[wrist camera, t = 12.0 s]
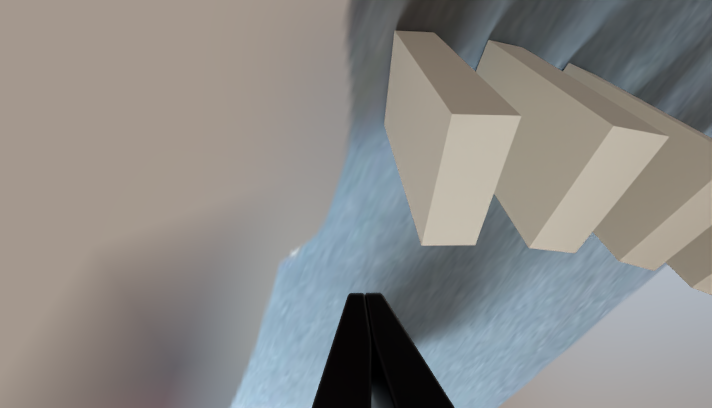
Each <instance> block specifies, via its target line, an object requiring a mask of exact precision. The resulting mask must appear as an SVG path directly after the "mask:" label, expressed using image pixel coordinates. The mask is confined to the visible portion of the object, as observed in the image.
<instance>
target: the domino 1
mask: <svg viewBox="0 0 712 408" xmlns="http://www.w3.org/2000/svg"><path fill="white" fill-rule="evenodd" d="M520 119H521V115H520V114H519V113H518V112H517V111H516V110H515V109H514V108H513V107H512V106H511V105H510V104H509V103H508V102H507V101H506V100H505V99H503V98H502V97H501V96H500V95H499V94H498V93H497V92H496V91H495V90H494V89H493V88H492V87H491V86H490V85H489V84H488V83H487V82H486V81H485V80H484V79H482V78H481V77H480V76H479V75H478V74H477V73H476V72H475V71H474V70H473V69H472V68H471V67H470V66H469V65H468V64H467V63H466V62H465V61H464V60H463V59H462V58H460V57H459V56H458V55H457V54H456V53H455V52H454V51H453V50H452V49H451V48H450V47H449V46H448V45H447V44H446V43H445V42H444V41H443V40H442V39H441V38H439V37H438V36H437V35H436V34H435V33H434V32H414V31H395V32H394V41H393V50H392V59H391V68H390V77H389V86H388V95H387V104H386V113H385V122H384V125H385V129H386V132H387V135H388V138H389V142H390V145H391V148H392V151H393V155H394V158H395V161H396V164H397V168H398V171H399V174H400V177H401V181H402V184H403V187H404V190H405V194H406V197H407V200H408V203H409V207H410V210H411V213H412V216H413V220H414V223H415V226H416V229H417V233H418V236H419V239H420V242H421V246H437V245H476V242H477V239H478V236H479V233H480V231H481V228H482V225H483V222H484V219H485V217H486V214H487V211H488V208H489V205H490V203H491V200H492V197H493V194H494V191H495V189H496V186H497V183H498V180H499V177H500V175H501V172H502V169H503V166H504V163H505V161H506V158H507V155H508V152H509V149H510V147H511V144H512V141H513V138H514V135H515V133H516V130H517V127H518V124H519V121H520Z"/></svg>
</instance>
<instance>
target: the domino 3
mask: <svg viewBox="0 0 712 408" xmlns="http://www.w3.org/2000/svg"><path fill="white" fill-rule="evenodd" d="M563 72H564V73H566V74H567V75H569V76H571V77H572V78H574V79H576V80H577V81H579V82H581V83H582V84H584V85H585V86H587V87H589V88H590V89H592V90H594V91H595V92H597V93H599V94H600V95H602V96H604V97H605V98H607V99H609V100H610V101H612V102H613V103H615V104H617V105H618V106H620V107H622V108H623V109H625V110H627V111H628V112H630V113H632V114H633V115H635V116H636V117H638V118H640V119H641V120H643V121H645V122H646V123H648V124H650V125H651V126H653V127H655V128H656V129H658V130H660V131H661V132H663V133H664V134H666V135H668V136H669V138H668V139H667V141H666V142H665V143H664V144H663V145H662V147H661V148H660V149H659V150H658V152H657V153H656V154H655V155H654V157H653V158H652V159H651V160H650V162H649V163H648V164H647V165H646V166H645V168H644V169H643V170H642V171H641V173H640V174H639V175H638V176H637V178H636V179H635V180H634V181H633V183H632V184H631V185H630V186H629V187H628V189H627V190H626V191H625V192H624V194H623V195H622V196H621V197H620V199H619V200H618V201H617V202H616V203H615V205H614V206H613V207H612V208H611V210H610V211H609V212H608V213H607V215H606V216H605V217H604V218H603V220H602V221H601V222H600V223H599V224H598V226H597V227H596V228H595V229H594V231H593V233H594V234H595V235H596V236H597V237H598V238H599V239H600V240H601V242H602V243H603V244H604V245H605V246H606V247H607V248H608V250H609V251H610V252H611V253H612V254H613V255H614V256H615V257H616V259H617V260H618V261H620V262H624V263H627V264H631V265H635V266H638V267H642V268H646V269H649V270H653V271H655V270H656V269H657V268H659V267H660V266H661V265H662V264H664V263H665V262H666V261H667V260H669V259H670V258H671V257H672V256H674V255H675V254H676V253H677V252H679V251H680V250H681V249H682V248H684V247H685V246H686V245H687V244H689V243H690V242H691V241H692V240H694V239H695V238H696V237H697V236H699V235H700V234H701V233H702V232H704V231H705V230H706V229H707V228H709V227H710V226H711V225H712V138H710V137H708V136H707V135H705V134H703V133H701V132H699V131H697V130H696V129H694V128H692V127H690V126H688V125H686V124H685V123H683V122H681V121H679V120H677V119H675V118H674V117H672V116H670V115H668V114H666V113H664V112H663V111H661V110H659V109H657V108H655V107H653V106H652V105H650V104H648V103H646V102H644V101H643V100H641V99H639V98H637V97H635V96H633V95H632V94H630V93H628V92H626V91H624V90H622V89H621V88H619V87H617V86H615V85H613V84H611V83H610V82H608V81H606V80H604V79H602V78H600V77H599V76H597V75H595V74H592V73H590V72H588V71H586V70H583V69H581V68H579V67H577V66H575V65H572V64H570V63H568V65H567V66H566V68H565V69H564V70H563Z"/></svg>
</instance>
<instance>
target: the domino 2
mask: <svg viewBox="0 0 712 408" xmlns="http://www.w3.org/2000/svg"><path fill="white" fill-rule="evenodd" d="M476 73H477V74H478V75H479V76H480V77H481V78H482V79H484V80H485V81H486V82H487V83H488V84H489V85H490V86H491V87H492V88H493V89H494V90H495V91H496V92H497V93H498V94H499V95H500V96H501V97H502V98H503V99H505V100H506V101H507V102H508V103H509V104H510V105H511V106H512V107H513V108H514V109H515V110H516V111H517V112H518V113H519V114H520V115H521V119H520V121H519V124H518V127H517V130H516V133H515V135H514V138H513V141H512V144H511V147H510V149H509V152H508V155H507V158H506V161H505V163H504V166H503V169H502V172H501V175H500V177H499V180H498V183H497V186H496V189H495V191H494V194H495V196H496V197H497V199H498V200H499V202H500V204H501V205H502V207H503V208H504V210H505V211H506V213H507V214H508V216H509V218H510V219H511V221H512V222H513V224H514V225H515V227H516V229H517V230H518V232H519V233H520V235H521V236H522V238H523V240H524V241H525V243H526V244H527V246H528V247H529V248H533V249H542V250H551V251H560V252H569V253H576V252H577V250H578V249H579V248H580V247H581V245H582V244H583V243H584V242H585V240H586V239H587V238H588V237H589V236H590V234H591V233H592V232H593V231H594V229H595V228H596V227H597V226H598V224H599V223H600V222H601V221H602V220H603V218H604V217H605V216H606V215H607V213H608V212H609V211H610V210H611V208H612V207H613V206H614V205H615V203H616V202H617V201H618V200H619V199H620V197H621V196H622V195H623V194H624V192H625V191H626V190H627V189H628V187H629V186H630V185H631V184H632V183H633V181H634V180H635V179H636V178H637V176H638V175H639V174H640V173H641V171H642V170H643V169H644V168H645V166H646V165H647V164H648V163H649V162H650V160H651V159H652V158H653V157H654V155H655V154H656V153H657V152H658V150H659V149H660V148H661V147H662V145H663V144H664V143H665V142H666V141H667V139H668V138H669V136H668V135H666V134H664V133H663V132H661V131H660V130H658V129H656V128H655V127H653V126H651V125H650V124H648V123H646V122H645V121H643V120H641V119H640V118H638V117H636V116H635V115H633V114H632V113H630V112H628V111H627V110H625V109H623V108H622V107H620V106H618V105H617V104H615V103H613V102H612V101H610V100H609V99H607V98H605V97H604V96H602V95H600V94H599V93H597V92H595V91H594V90H592V89H590V88H589V87H587V86H585V85H584V84H582V83H581V82H579V81H577V80H576V79H574V78H572V77H571V76H569V75H567V74H566V73H564V72H562V71H561V70H559V69H558V68H556V67H554V66H553V65H551V64H549V63H548V62H546V61H544V60H543V59H541V58H539V57H538V56H536V55H535V54H533V53H531V52H530V51H528V50H526V49H525V48H522V47H518V46H514V45H509V44H505V43H500V42H496V41H492V40H488V42H487V45H486V47H485V50H484V52H483V55H482V57H481V59H480V62H479V64H478V67H477V69H476Z"/></svg>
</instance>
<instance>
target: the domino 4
mask: <svg viewBox="0 0 712 408" xmlns="http://www.w3.org/2000/svg"><path fill="white" fill-rule="evenodd" d="M666 263H667V264H668V265H669V266H670V267H671V268H672V269H673V270H674V271H675V272H676V273H677V274H678V275H679V276H680V277H681V278H682V279H683V280H684V281H685V282H686V283H687V284H688V285H689V286H691V287H692V288H695V289H697V290H700V291H703V292H705V293H708V294H710V295H712V225H711V226H710V227H709V228H707V229H706V230H705V231H704V232H702V233H701V234H700V235H699V236H697V237H696V238H695V239H694V240H692V241H691V242H690V243H689V244H687V245H686V246H685V247H684V248H682V249H681V250H680V251H679V252H677V253H676V254H675V255H674V256H672V257H671V258H670V259H669V260H667V261H666Z"/></svg>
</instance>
